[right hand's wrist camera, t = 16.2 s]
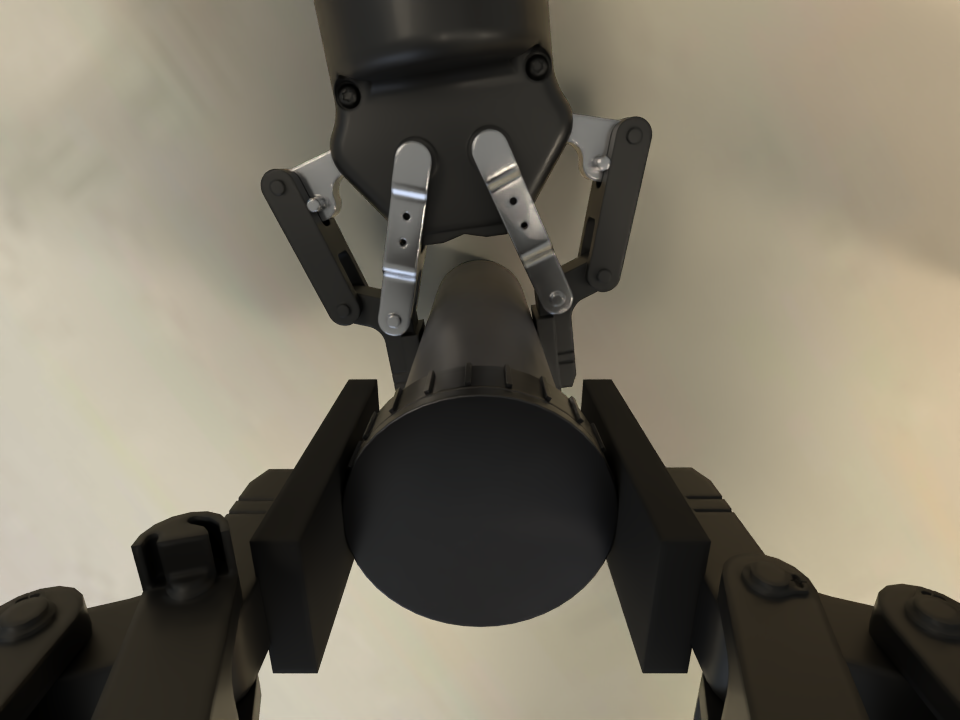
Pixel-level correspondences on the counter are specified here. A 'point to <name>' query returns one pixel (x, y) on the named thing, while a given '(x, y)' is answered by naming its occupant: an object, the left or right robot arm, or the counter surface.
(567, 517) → the lid
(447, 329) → the dark grey cylinder
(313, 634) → the right robot arm
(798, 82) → the counter surface
